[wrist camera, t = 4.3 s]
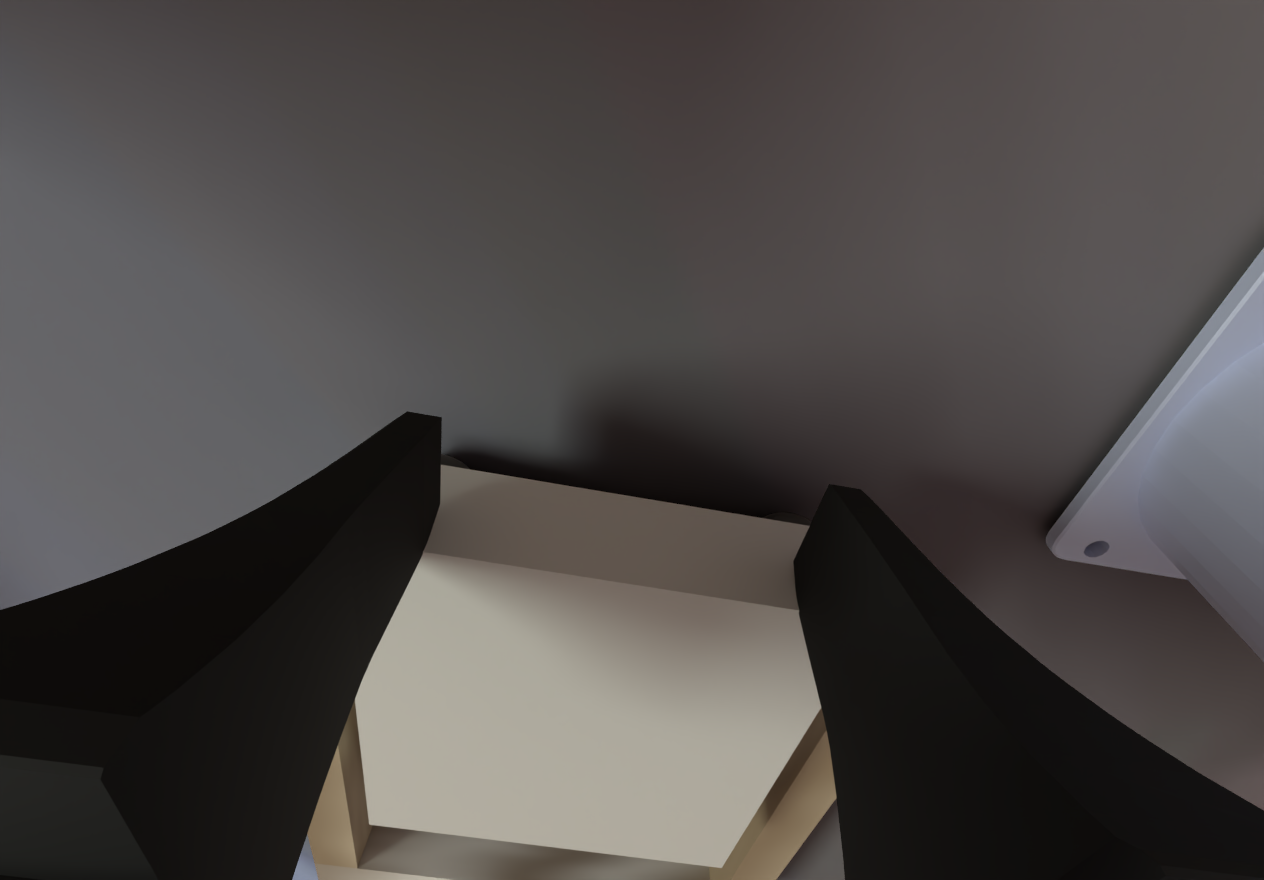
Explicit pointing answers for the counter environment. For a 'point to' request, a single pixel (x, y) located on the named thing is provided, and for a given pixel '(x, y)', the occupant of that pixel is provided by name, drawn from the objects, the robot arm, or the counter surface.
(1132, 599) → the counter surface
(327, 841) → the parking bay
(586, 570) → the cream tile slab
